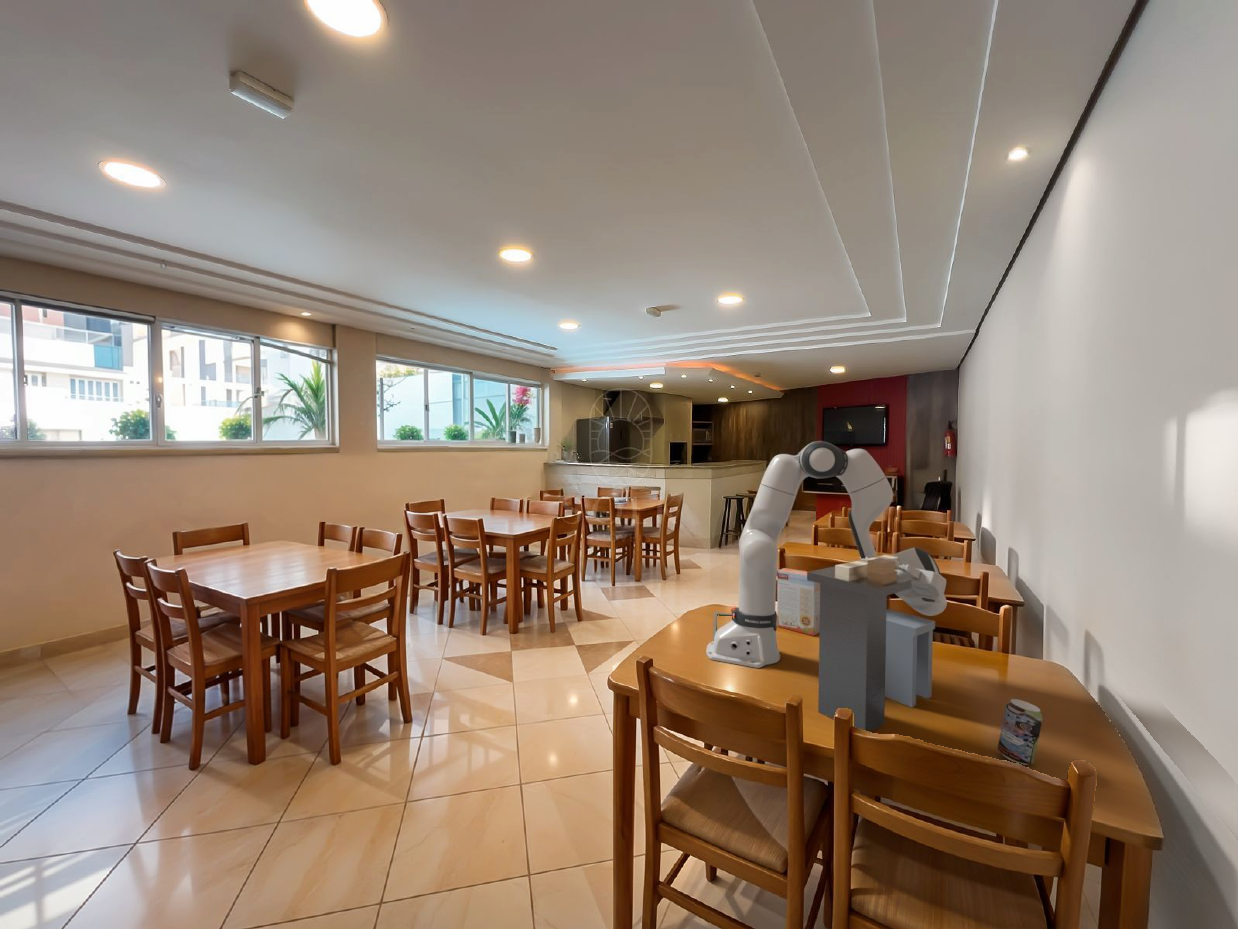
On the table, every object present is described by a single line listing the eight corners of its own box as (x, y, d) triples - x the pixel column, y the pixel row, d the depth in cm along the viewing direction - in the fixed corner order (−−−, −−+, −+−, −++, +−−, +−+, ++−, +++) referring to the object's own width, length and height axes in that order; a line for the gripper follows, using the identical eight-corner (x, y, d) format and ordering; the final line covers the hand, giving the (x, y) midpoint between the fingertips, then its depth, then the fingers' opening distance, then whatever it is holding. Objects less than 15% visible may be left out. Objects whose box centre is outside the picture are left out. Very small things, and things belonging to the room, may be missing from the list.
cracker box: (821, 632, 181) (822, 573, 180) (813, 637, 176) (814, 576, 176) (784, 622, 191) (785, 566, 190) (776, 626, 186) (777, 569, 186)
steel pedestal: (838, 693, 135) (840, 546, 134) (908, 723, 121) (911, 558, 119) (805, 708, 128) (807, 551, 126) (875, 742, 113) (878, 565, 112)
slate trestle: (887, 680, 143) (888, 609, 143) (933, 697, 133) (935, 621, 133) (867, 689, 138) (868, 615, 137) (913, 708, 128) (915, 628, 127)
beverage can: (990, 752, 109) (991, 696, 109) (1022, 750, 110) (1023, 695, 110) (1015, 770, 103) (1016, 711, 103) (1049, 768, 104) (1051, 710, 103)
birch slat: (885, 566, 133) (885, 554, 133) (899, 569, 130) (899, 557, 130) (834, 578, 121) (835, 565, 121) (848, 581, 118) (849, 568, 118)
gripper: (874, 565, 146) (850, 545, 139) (953, 581, 129) (931, 559, 122) (868, 586, 145) (843, 566, 138) (947, 604, 128) (923, 583, 121)
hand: (885, 563), depth 130 cm, fingers open, 8 cm apart
